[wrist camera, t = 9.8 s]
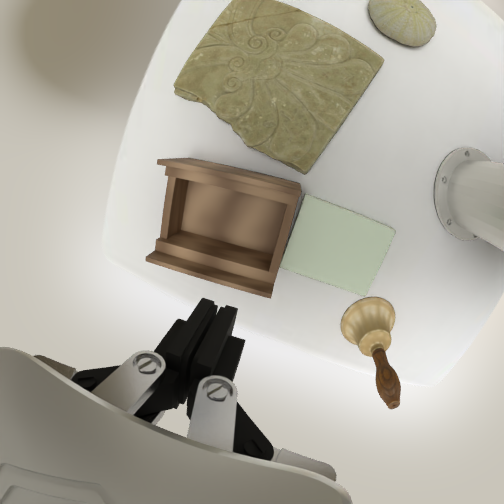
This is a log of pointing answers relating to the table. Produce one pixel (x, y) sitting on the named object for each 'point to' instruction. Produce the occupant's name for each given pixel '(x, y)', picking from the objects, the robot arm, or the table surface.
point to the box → (225, 224)
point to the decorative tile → (278, 78)
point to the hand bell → (374, 341)
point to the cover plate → (336, 246)
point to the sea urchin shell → (403, 20)
